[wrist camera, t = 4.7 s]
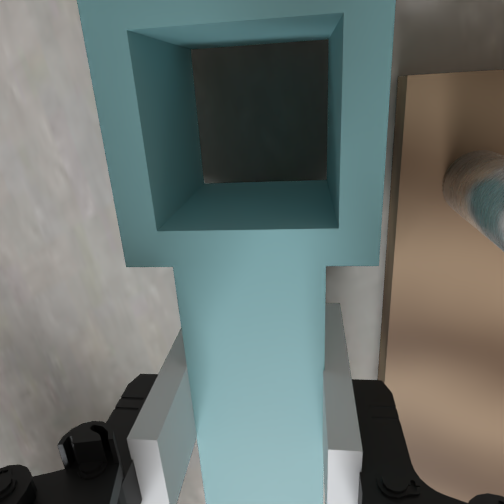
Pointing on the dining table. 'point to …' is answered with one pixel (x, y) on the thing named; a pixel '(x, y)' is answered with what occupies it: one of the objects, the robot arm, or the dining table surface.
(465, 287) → the board
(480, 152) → the cylinder
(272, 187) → the link
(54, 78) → the dining table surface
